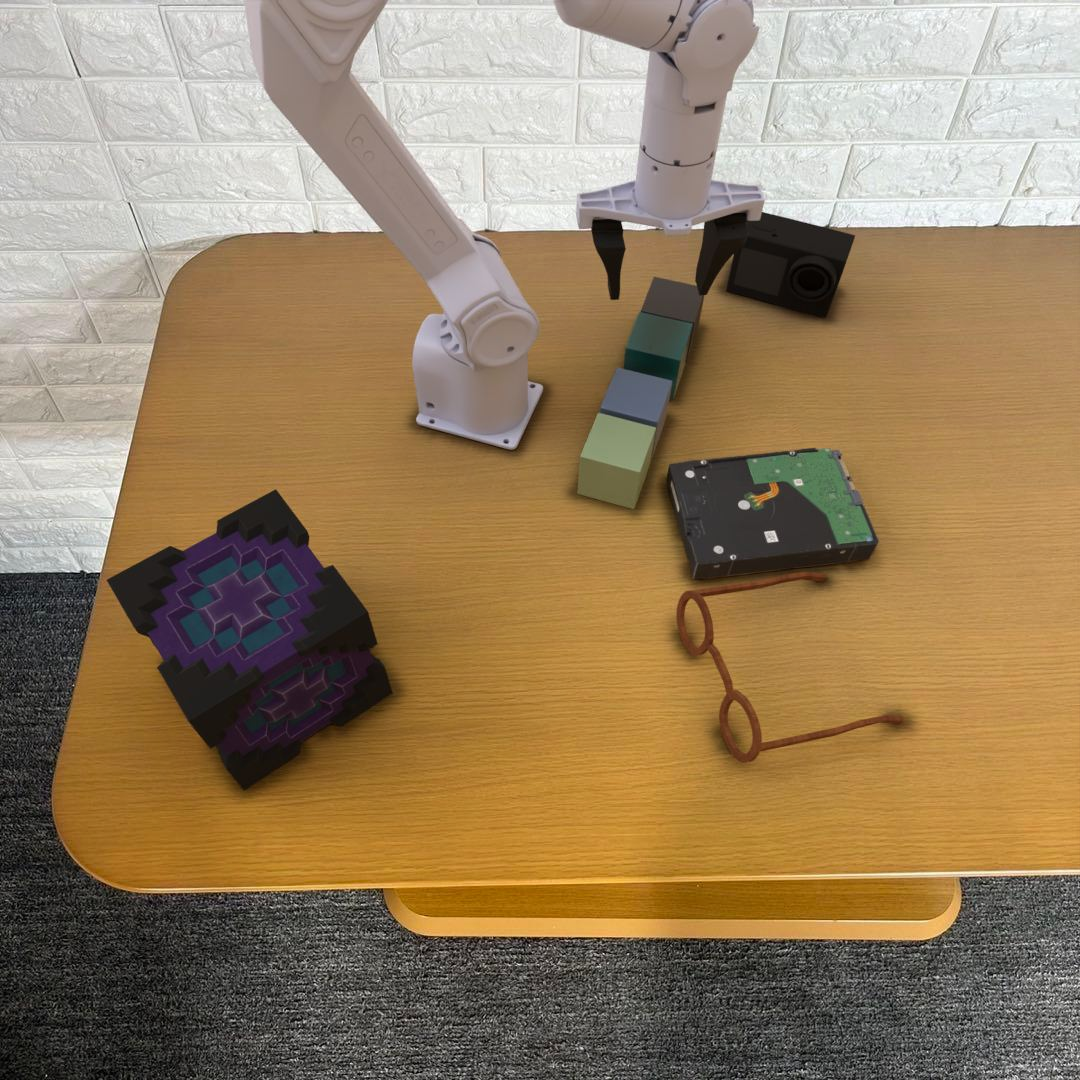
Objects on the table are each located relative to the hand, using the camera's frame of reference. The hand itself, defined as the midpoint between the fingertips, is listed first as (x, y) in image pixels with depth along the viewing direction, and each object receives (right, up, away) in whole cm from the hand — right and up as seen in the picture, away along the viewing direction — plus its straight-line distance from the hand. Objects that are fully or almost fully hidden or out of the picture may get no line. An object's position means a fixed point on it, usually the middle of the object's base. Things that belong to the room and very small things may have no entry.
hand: (657, 289), depth 78 cm
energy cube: (-29, -32, -11) cm, 45 cm away
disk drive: (+9, -20, -3) cm, 22 cm away
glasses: (+8, -31, -10) cm, 34 cm away
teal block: (0, -6, +6) cm, 9 cm away
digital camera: (+14, +3, +13) cm, 19 cm away
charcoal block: (+2, -2, +9) cm, 10 cm away
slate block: (-2, -12, +2) cm, 12 cm away
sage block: (-4, -16, -1) cm, 17 cm away
